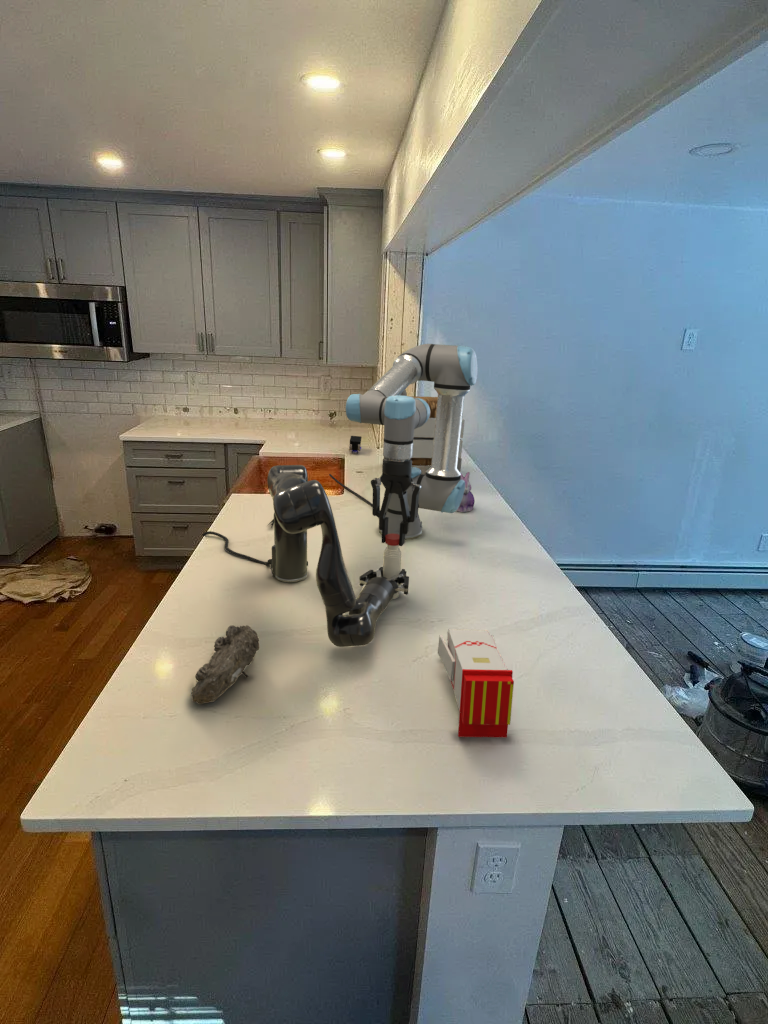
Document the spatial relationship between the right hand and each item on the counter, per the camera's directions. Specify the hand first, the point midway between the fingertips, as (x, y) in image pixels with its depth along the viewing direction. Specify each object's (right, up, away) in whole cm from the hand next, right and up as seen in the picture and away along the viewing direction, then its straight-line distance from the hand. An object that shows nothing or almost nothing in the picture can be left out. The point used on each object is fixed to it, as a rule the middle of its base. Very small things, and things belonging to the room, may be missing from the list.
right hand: (393, 542), depth 152 cm
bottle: (-1, -15, +5) cm, 16 cm away
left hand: (0, -8, +5) cm, 10 cm away
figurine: (+30, +9, +76) cm, 82 cm away
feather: (-42, +7, +59) cm, 73 cm away
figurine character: (-18, +41, +158) cm, 164 cm away
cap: (0, +1, -1) cm, 2 cm away
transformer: (+15, +27, +123) cm, 127 cm away
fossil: (-35, -27, -32) cm, 54 cm away
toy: (+15, -29, -33) cm, 47 cm away
